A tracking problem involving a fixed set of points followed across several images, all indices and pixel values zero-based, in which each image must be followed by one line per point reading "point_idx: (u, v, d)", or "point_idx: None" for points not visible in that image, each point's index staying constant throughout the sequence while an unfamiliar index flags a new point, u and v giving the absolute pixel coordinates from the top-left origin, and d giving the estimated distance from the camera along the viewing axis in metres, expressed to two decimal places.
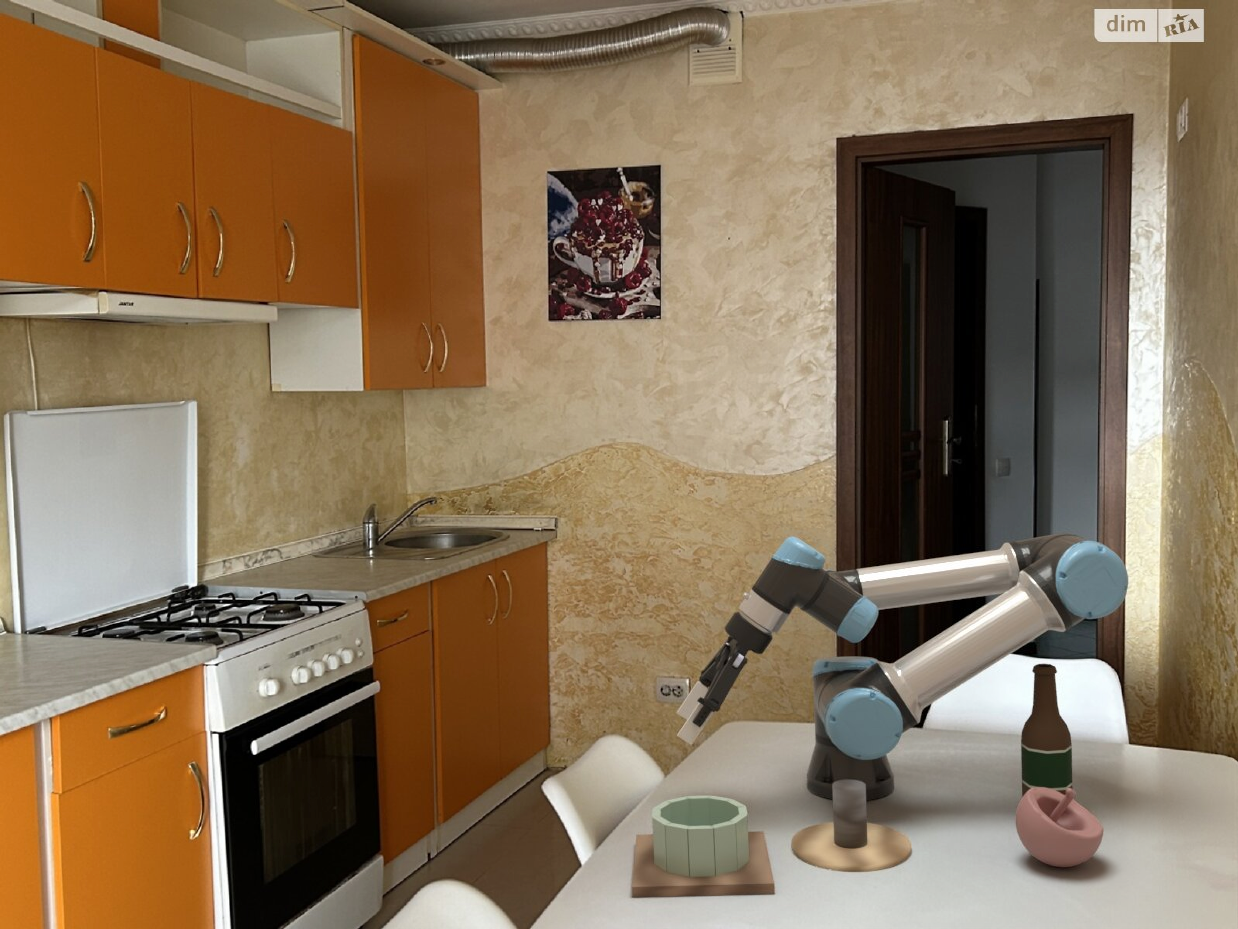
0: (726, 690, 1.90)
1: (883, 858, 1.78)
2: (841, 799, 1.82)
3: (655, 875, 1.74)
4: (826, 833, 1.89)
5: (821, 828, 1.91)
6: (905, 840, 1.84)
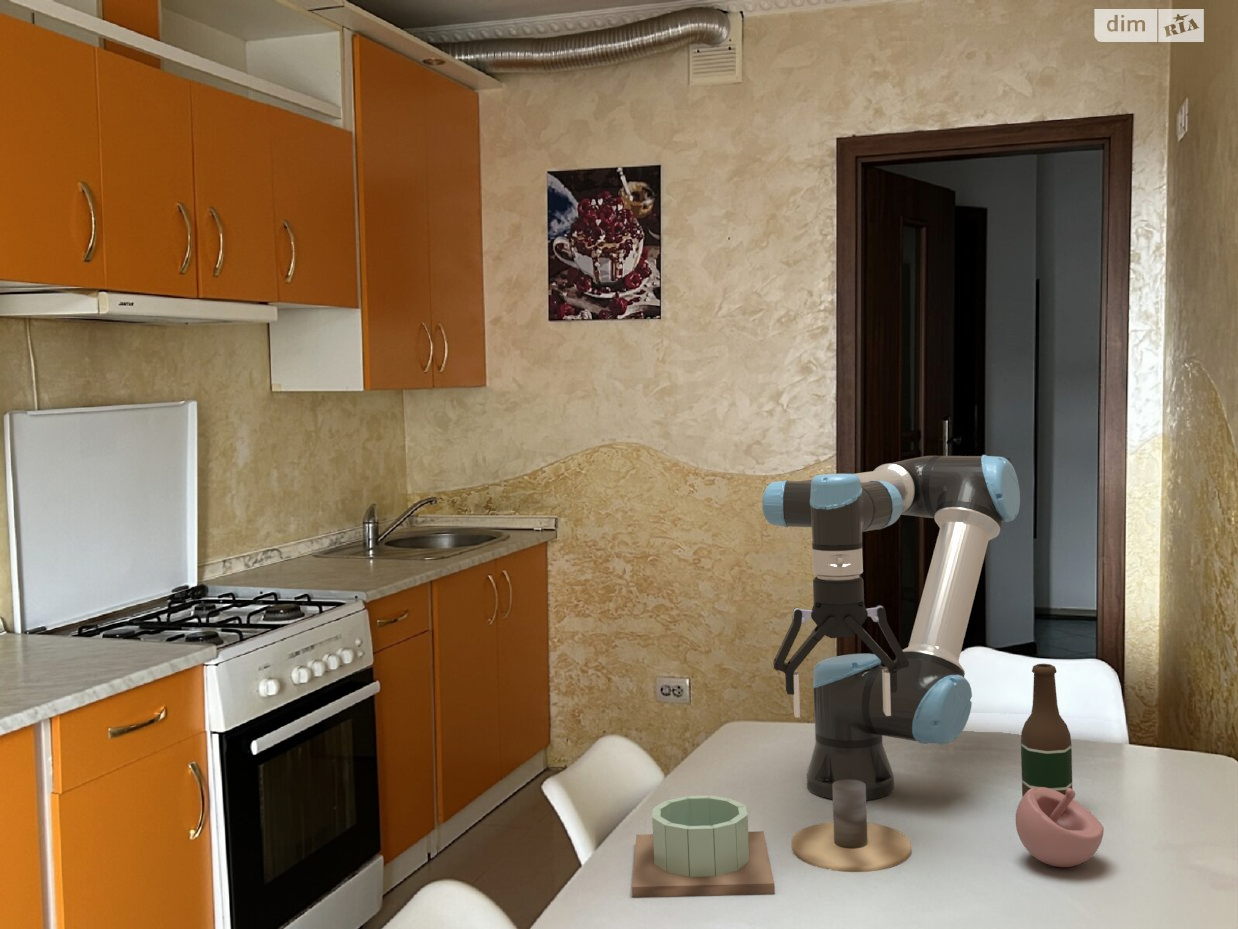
0: None
1: (883, 858, 1.78)
2: (841, 799, 1.82)
3: (655, 875, 1.74)
4: (826, 833, 1.89)
5: (821, 828, 1.91)
6: (905, 840, 1.84)
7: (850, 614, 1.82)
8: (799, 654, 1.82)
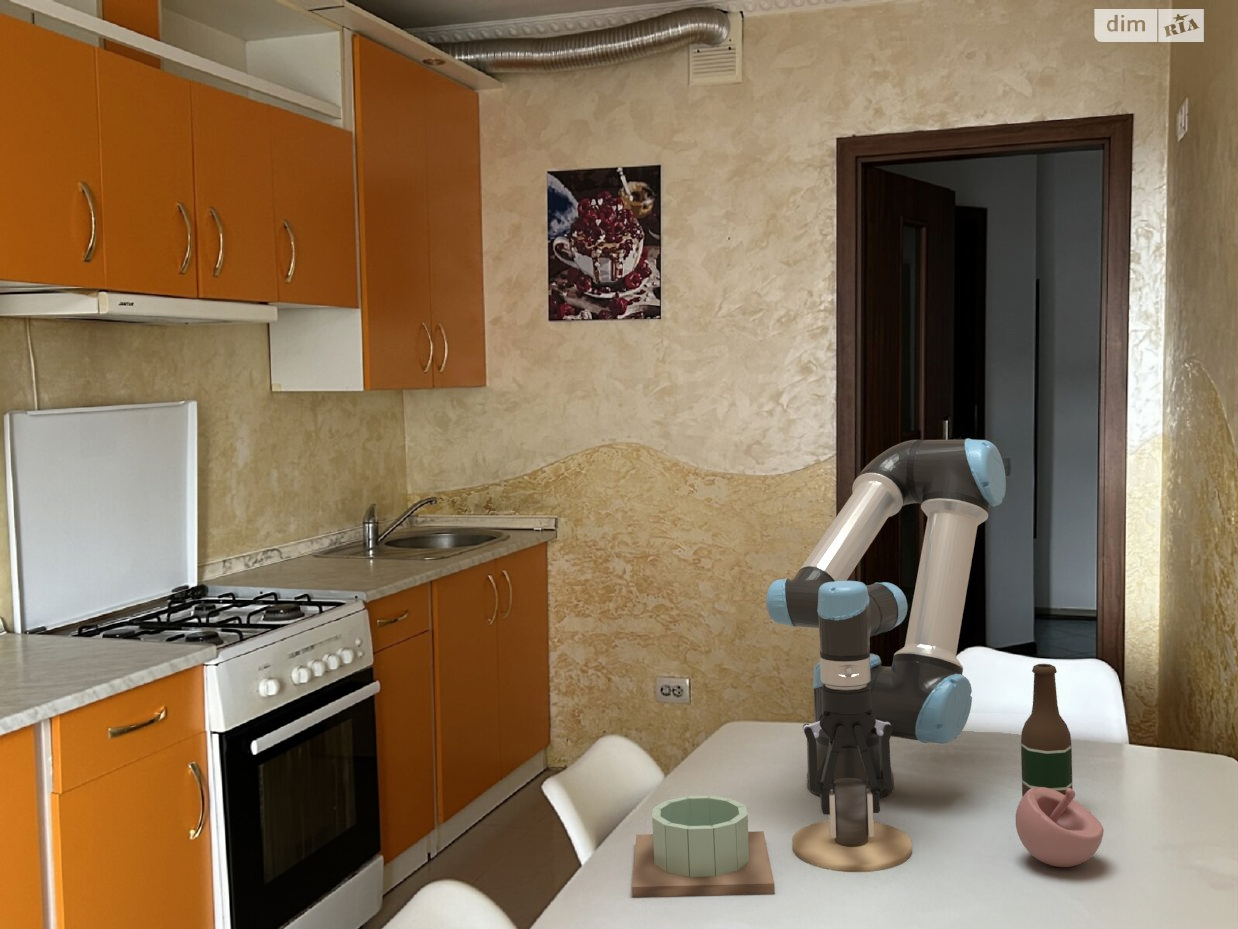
0: None
1: (883, 857, 1.78)
2: (842, 797, 1.82)
3: (655, 875, 1.74)
4: (826, 831, 1.89)
5: (822, 826, 1.91)
6: (905, 839, 1.84)
7: (860, 724, 1.82)
8: (827, 772, 1.83)
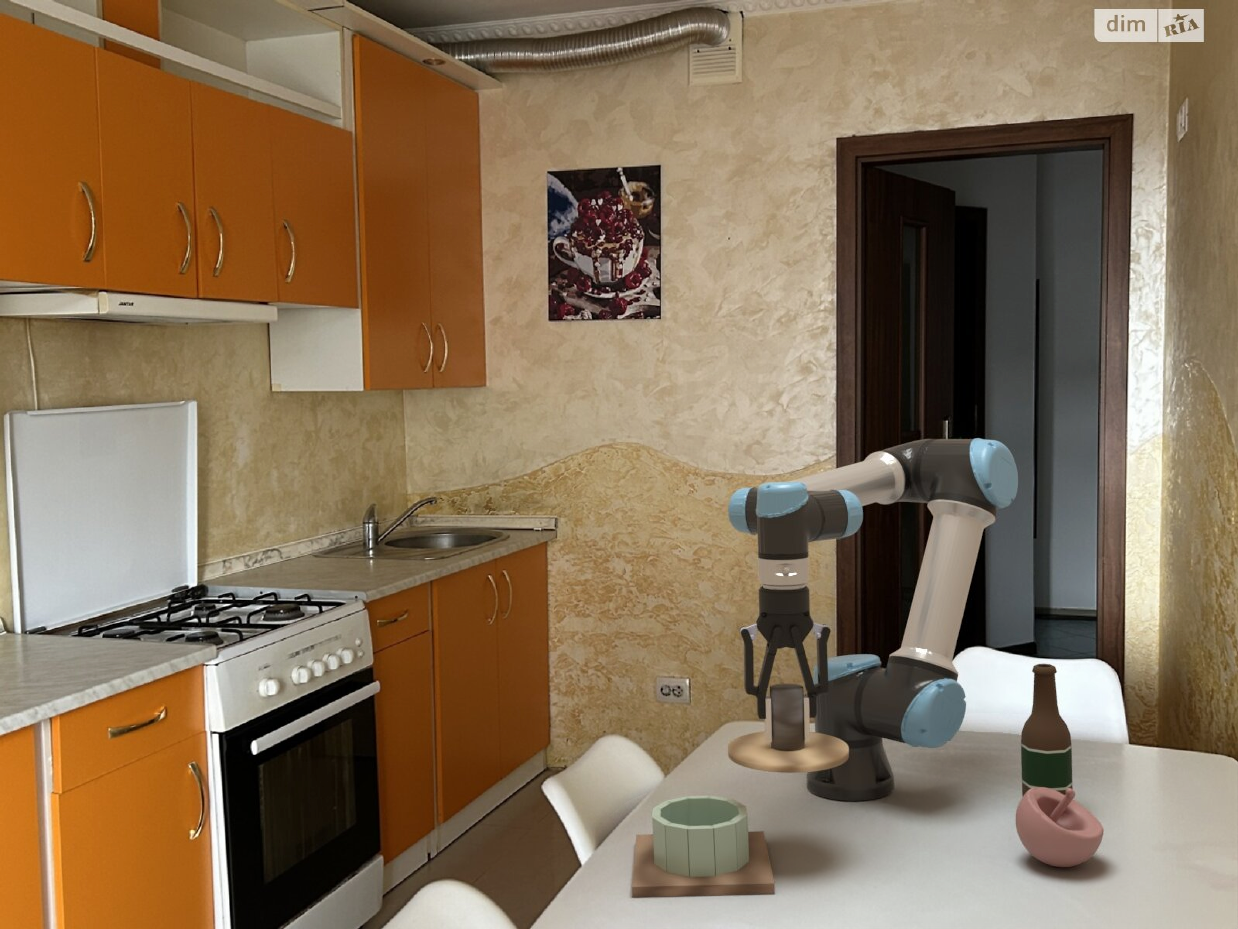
0: None
1: (819, 759, 1.74)
2: (778, 700, 1.79)
3: (655, 875, 1.74)
4: (763, 739, 1.85)
5: (759, 735, 1.88)
6: (843, 745, 1.81)
7: (798, 625, 1.79)
8: (763, 675, 1.80)
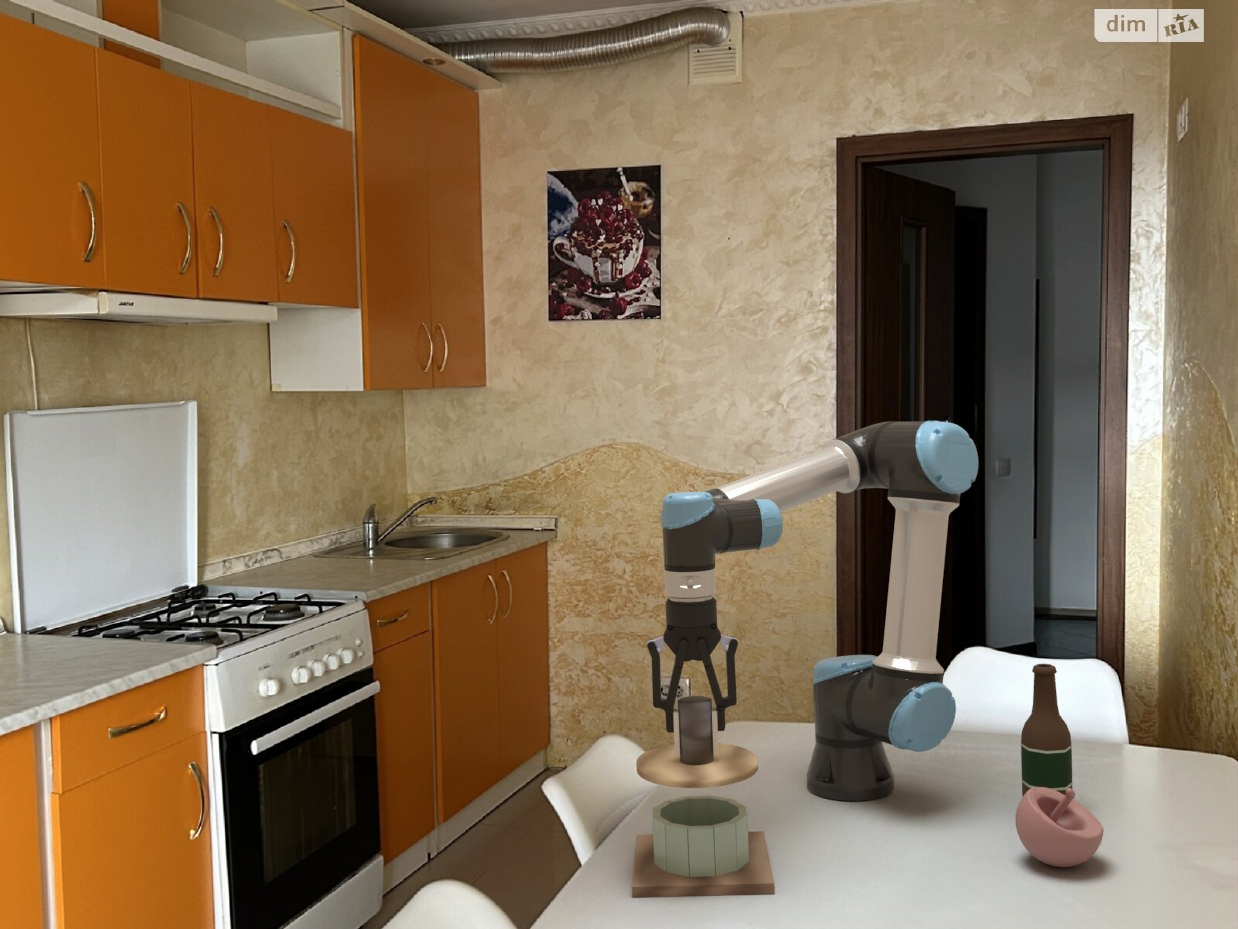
0: None
1: (724, 773, 1.72)
2: (685, 714, 1.76)
3: (655, 875, 1.74)
4: (674, 752, 1.83)
5: (672, 747, 1.85)
6: (752, 758, 1.78)
7: (705, 638, 1.76)
8: (670, 688, 1.77)
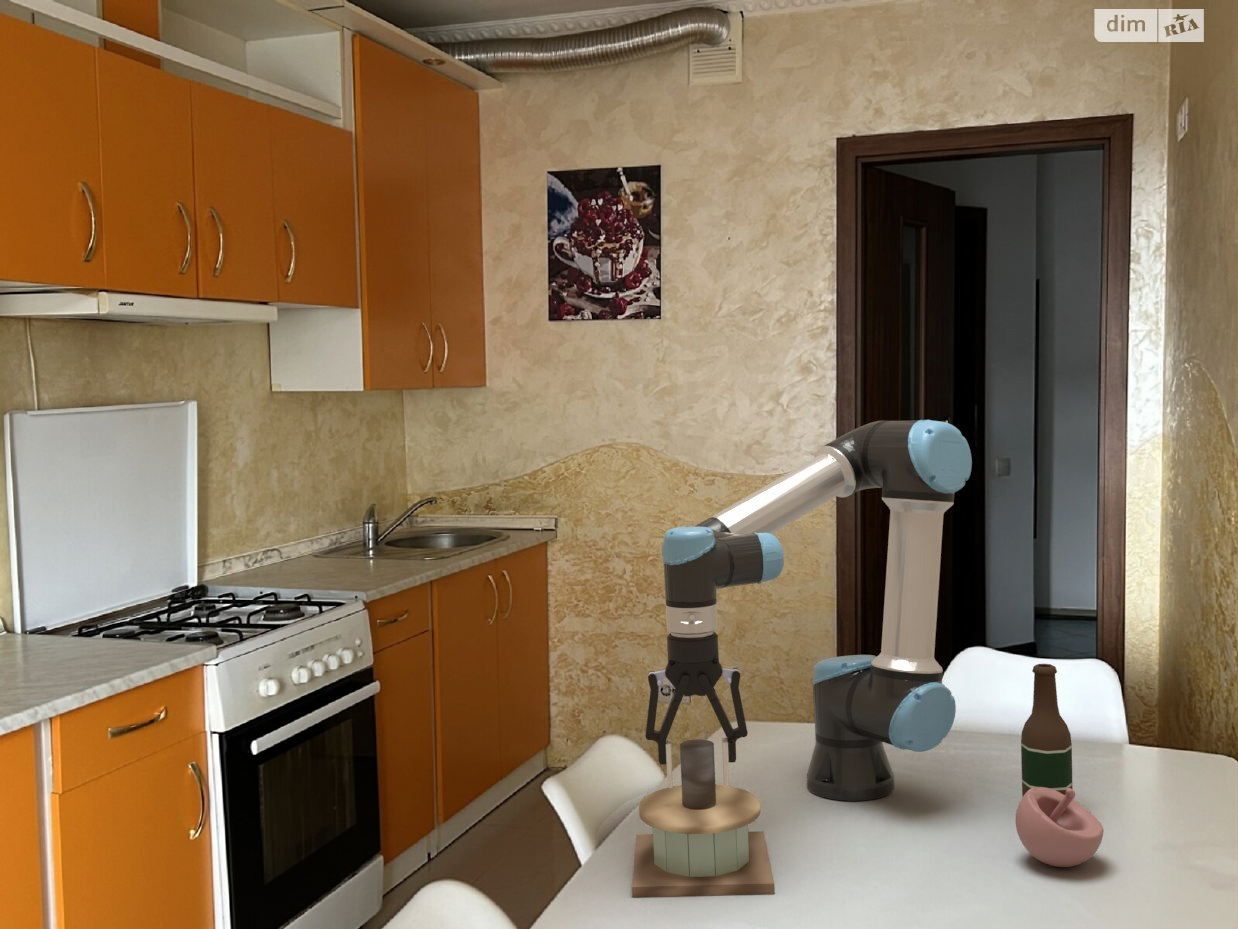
0: None
1: (726, 819, 1.72)
2: (687, 758, 1.77)
3: (655, 875, 1.74)
4: (677, 795, 1.83)
5: (674, 790, 1.86)
6: (755, 802, 1.79)
7: (706, 672, 1.77)
8: (665, 721, 1.77)
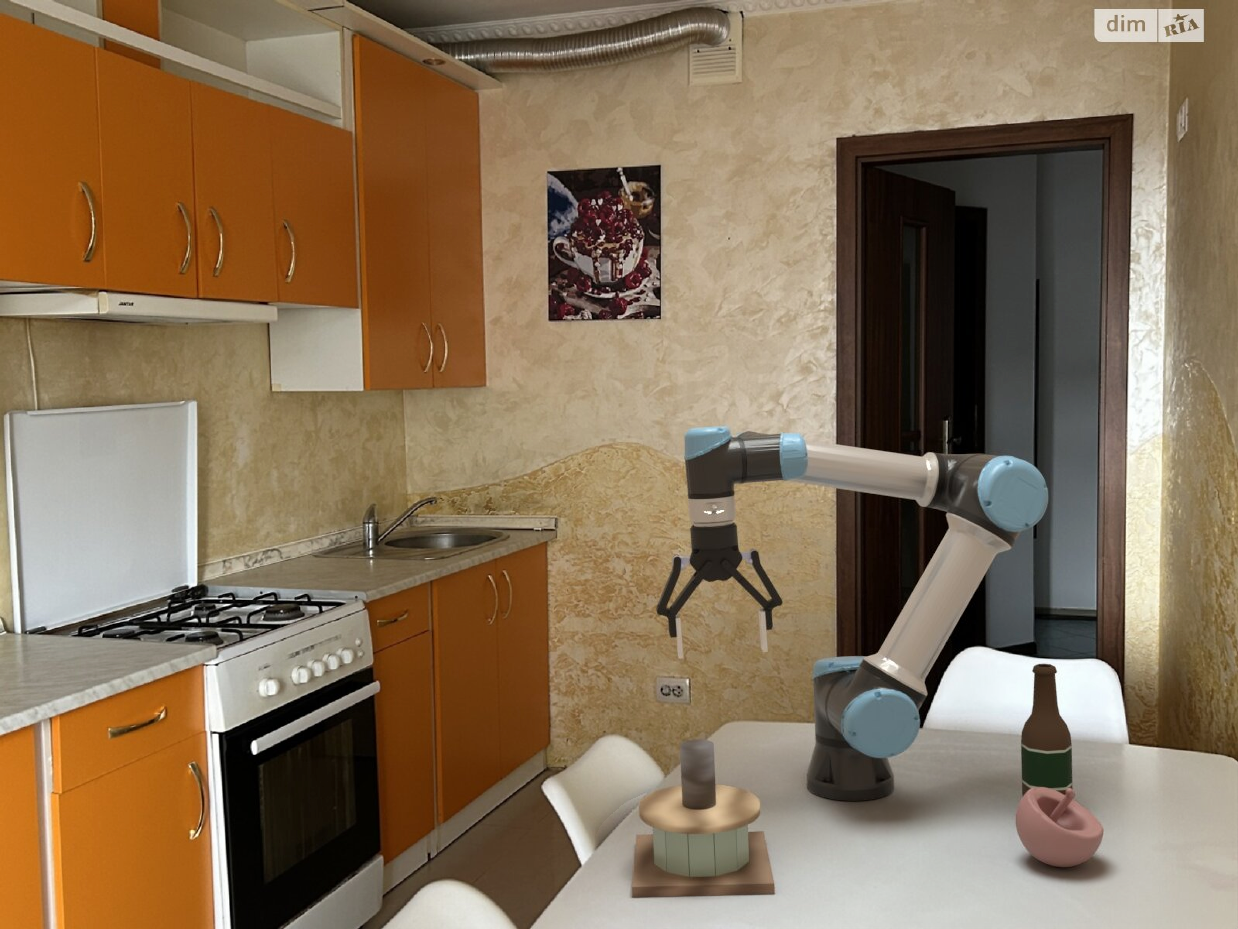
0: None
1: (726, 819, 1.72)
2: (687, 758, 1.77)
3: (655, 875, 1.74)
4: (677, 795, 1.83)
5: (674, 790, 1.86)
6: (755, 802, 1.79)
7: (726, 558, 1.93)
8: (680, 598, 1.93)
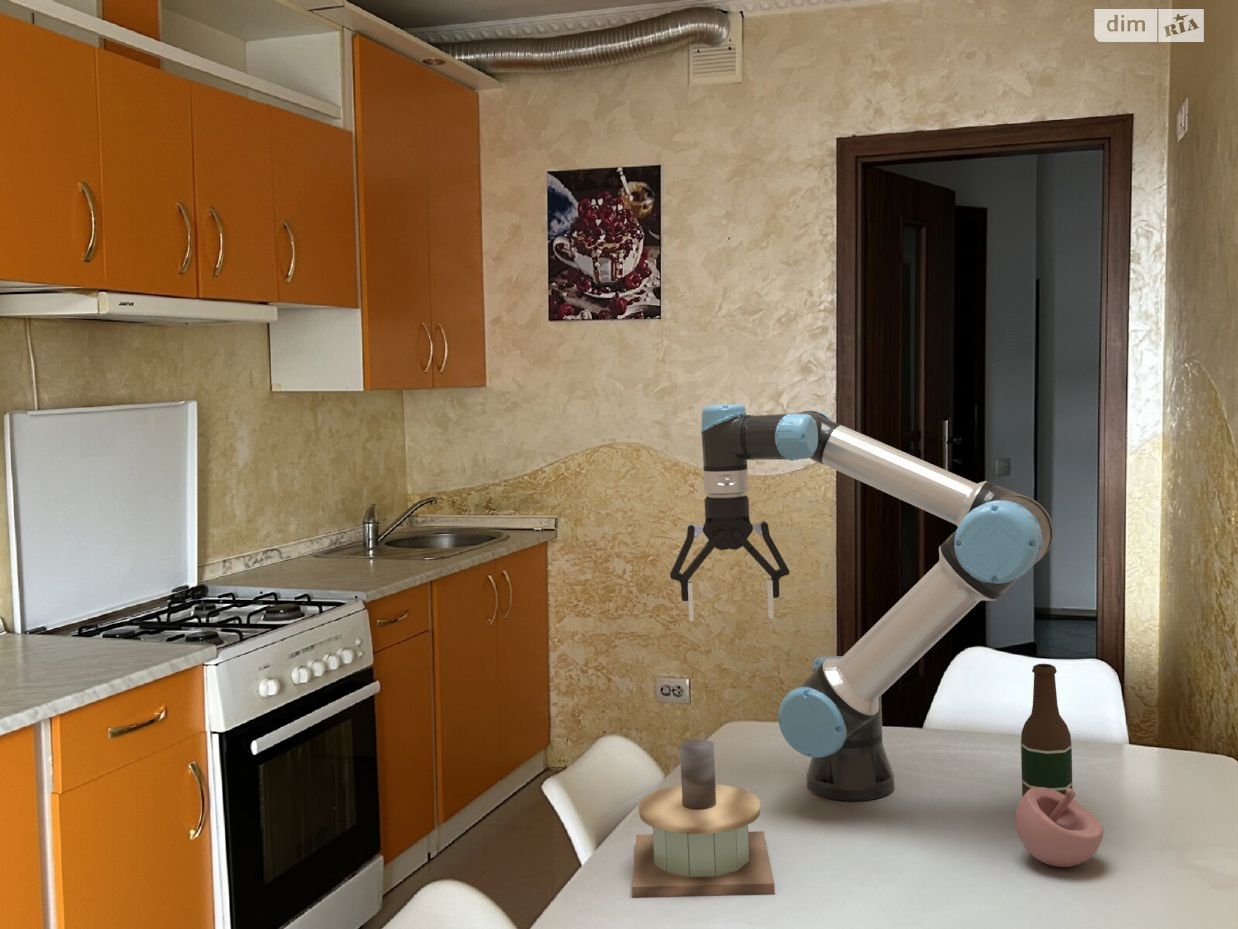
0: None
1: (726, 819, 1.72)
2: (687, 758, 1.77)
3: (655, 875, 1.74)
4: (677, 795, 1.83)
5: (674, 790, 1.86)
6: (755, 802, 1.79)
7: (737, 528, 2.04)
8: (692, 565, 2.05)
